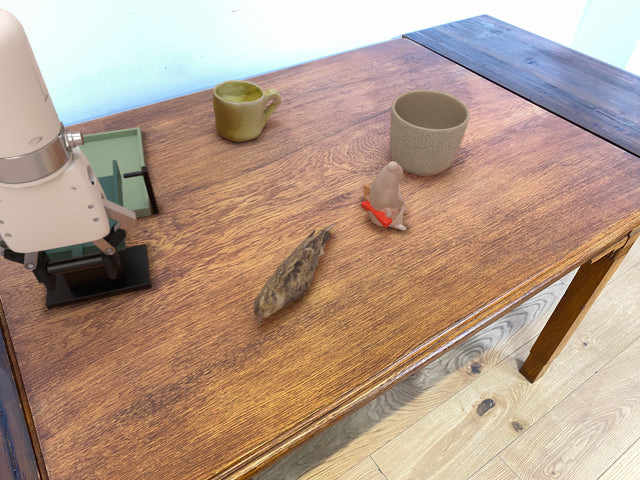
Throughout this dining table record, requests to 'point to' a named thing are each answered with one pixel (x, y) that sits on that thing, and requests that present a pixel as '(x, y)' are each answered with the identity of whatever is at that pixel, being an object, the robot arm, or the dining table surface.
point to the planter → (427, 130)
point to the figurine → (386, 198)
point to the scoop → (88, 252)
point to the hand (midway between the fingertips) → (82, 275)
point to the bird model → (292, 276)
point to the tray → (120, 163)
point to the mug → (242, 109)
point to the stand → (96, 279)
